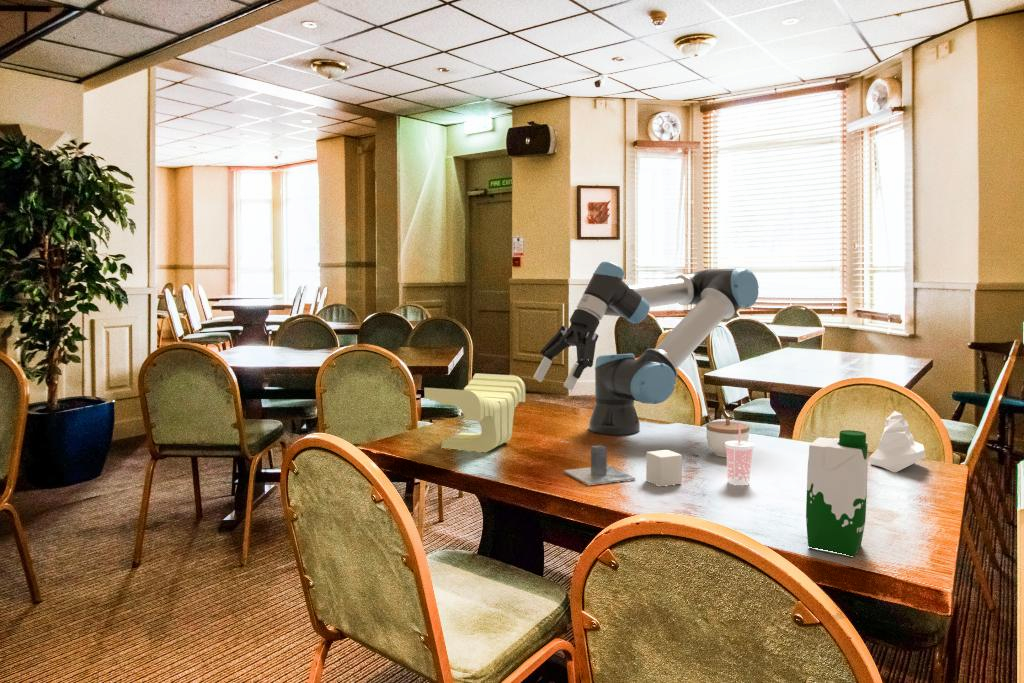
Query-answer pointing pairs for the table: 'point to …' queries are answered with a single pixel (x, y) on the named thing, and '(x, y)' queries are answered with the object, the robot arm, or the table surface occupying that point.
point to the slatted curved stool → (483, 409)
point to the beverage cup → (739, 460)
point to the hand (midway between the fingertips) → (551, 384)
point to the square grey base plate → (599, 469)
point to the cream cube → (664, 467)
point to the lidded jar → (724, 435)
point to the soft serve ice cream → (897, 446)
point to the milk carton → (837, 492)
